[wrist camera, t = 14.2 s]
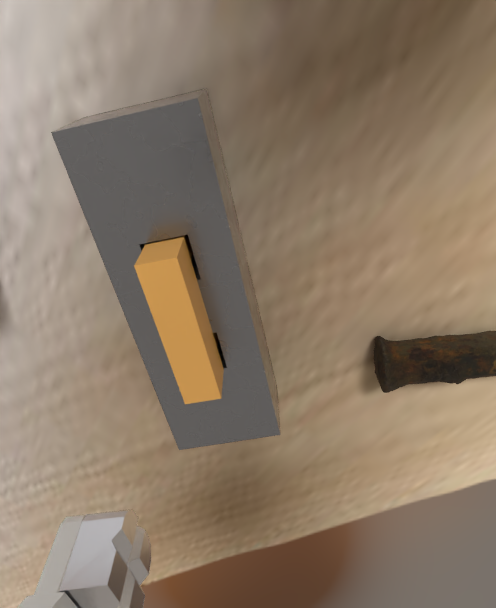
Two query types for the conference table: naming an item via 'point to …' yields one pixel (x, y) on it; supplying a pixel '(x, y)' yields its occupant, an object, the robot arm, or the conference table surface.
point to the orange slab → (181, 317)
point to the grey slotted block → (168, 224)
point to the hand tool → (434, 359)
